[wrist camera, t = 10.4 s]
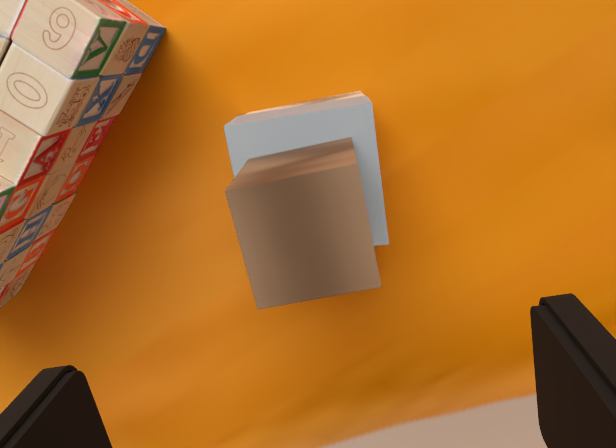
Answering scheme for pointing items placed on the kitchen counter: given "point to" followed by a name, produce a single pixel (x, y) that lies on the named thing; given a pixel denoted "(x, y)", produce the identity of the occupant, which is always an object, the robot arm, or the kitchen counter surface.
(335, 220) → the walnut block
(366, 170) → the tower top
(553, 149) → the kitchen counter surface
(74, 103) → the stack of blocks
